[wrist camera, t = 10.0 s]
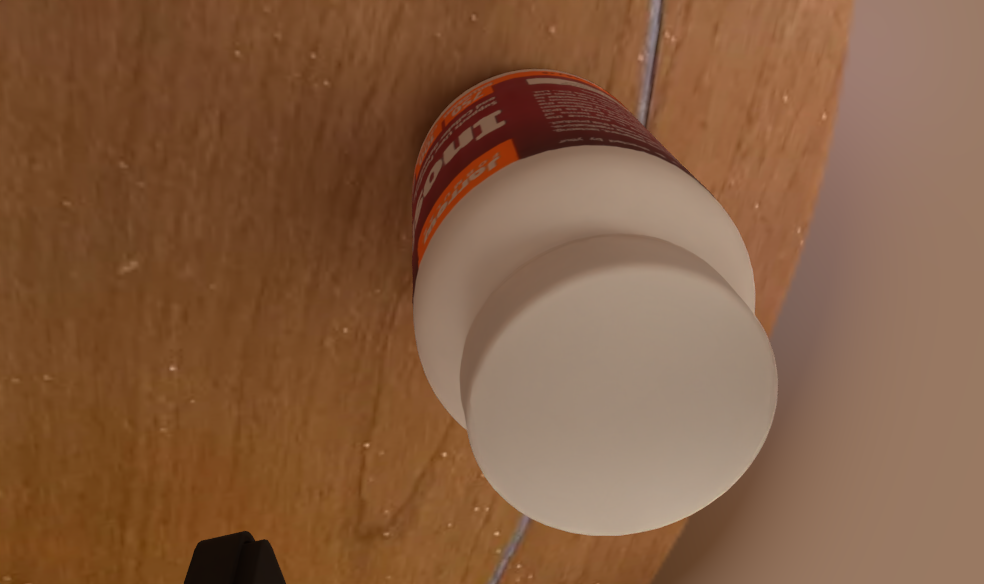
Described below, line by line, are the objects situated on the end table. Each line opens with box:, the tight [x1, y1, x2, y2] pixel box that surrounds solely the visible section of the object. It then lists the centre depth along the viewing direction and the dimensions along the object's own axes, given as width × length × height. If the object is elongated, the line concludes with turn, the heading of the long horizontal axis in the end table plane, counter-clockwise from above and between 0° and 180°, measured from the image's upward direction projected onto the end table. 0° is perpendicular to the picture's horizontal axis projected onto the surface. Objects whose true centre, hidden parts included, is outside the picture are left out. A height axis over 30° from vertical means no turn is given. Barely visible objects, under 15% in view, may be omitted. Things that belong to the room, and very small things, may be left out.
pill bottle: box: [412, 69, 778, 536], centre depth 17 cm, size 6×6×11 cm
